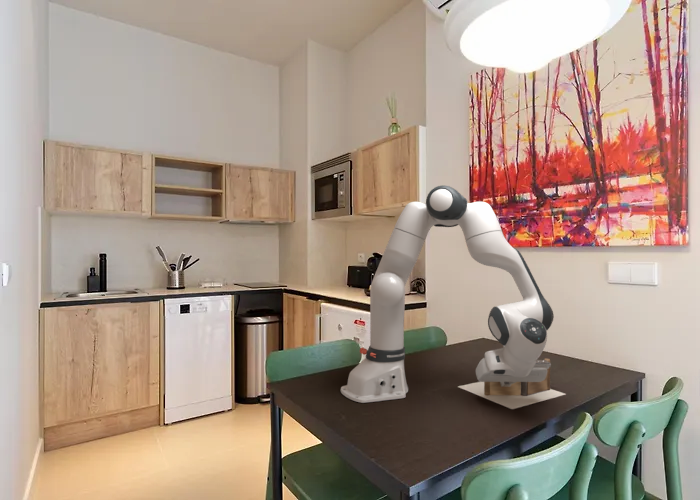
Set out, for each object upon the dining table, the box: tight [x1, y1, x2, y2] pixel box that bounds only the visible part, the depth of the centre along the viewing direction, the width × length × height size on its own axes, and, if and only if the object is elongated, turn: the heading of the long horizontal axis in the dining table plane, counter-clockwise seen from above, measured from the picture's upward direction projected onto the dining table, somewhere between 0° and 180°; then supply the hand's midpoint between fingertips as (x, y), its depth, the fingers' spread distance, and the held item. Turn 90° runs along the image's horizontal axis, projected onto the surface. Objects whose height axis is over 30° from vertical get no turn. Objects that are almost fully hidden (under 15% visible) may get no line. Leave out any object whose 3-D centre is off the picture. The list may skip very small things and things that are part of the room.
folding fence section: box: [484, 382, 521, 395], centre depth 129 cm, size 11×2×10 cm, turn 92°
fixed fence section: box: [521, 358, 551, 396], centre depth 132 cm, size 14×2×10 cm, turn 120°
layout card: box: [457, 381, 567, 410], centre depth 133 cm, size 26×22×1 cm
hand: (504, 384), depth 127 cm, fingers closed, pressing on folding fence section
